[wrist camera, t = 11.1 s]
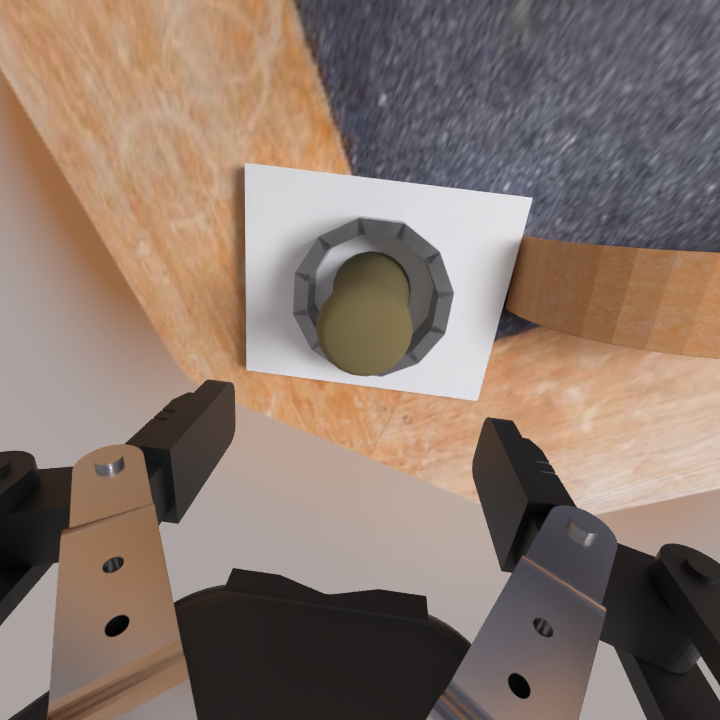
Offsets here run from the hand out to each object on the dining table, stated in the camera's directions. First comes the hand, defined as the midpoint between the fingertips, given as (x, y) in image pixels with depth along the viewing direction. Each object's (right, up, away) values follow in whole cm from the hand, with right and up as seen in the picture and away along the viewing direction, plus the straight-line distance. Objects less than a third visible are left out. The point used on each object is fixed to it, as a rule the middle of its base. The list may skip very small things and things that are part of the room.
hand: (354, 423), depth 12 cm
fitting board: (+1, +8, +18) cm, 20 cm away
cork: (+1, +7, +17) cm, 19 cm away
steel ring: (+1, +7, +17) cm, 19 cm away
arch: (+22, +9, +17) cm, 29 cm away
